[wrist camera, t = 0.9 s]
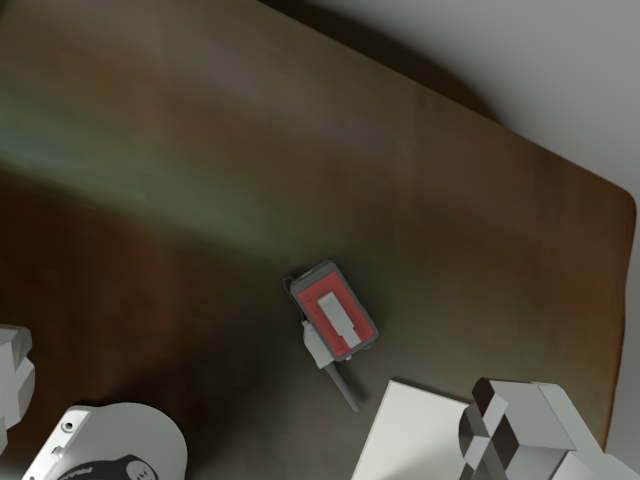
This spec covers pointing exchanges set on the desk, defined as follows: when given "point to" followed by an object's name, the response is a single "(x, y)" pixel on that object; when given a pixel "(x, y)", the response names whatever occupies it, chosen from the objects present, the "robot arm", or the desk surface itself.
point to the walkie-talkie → (331, 319)
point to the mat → (413, 437)
